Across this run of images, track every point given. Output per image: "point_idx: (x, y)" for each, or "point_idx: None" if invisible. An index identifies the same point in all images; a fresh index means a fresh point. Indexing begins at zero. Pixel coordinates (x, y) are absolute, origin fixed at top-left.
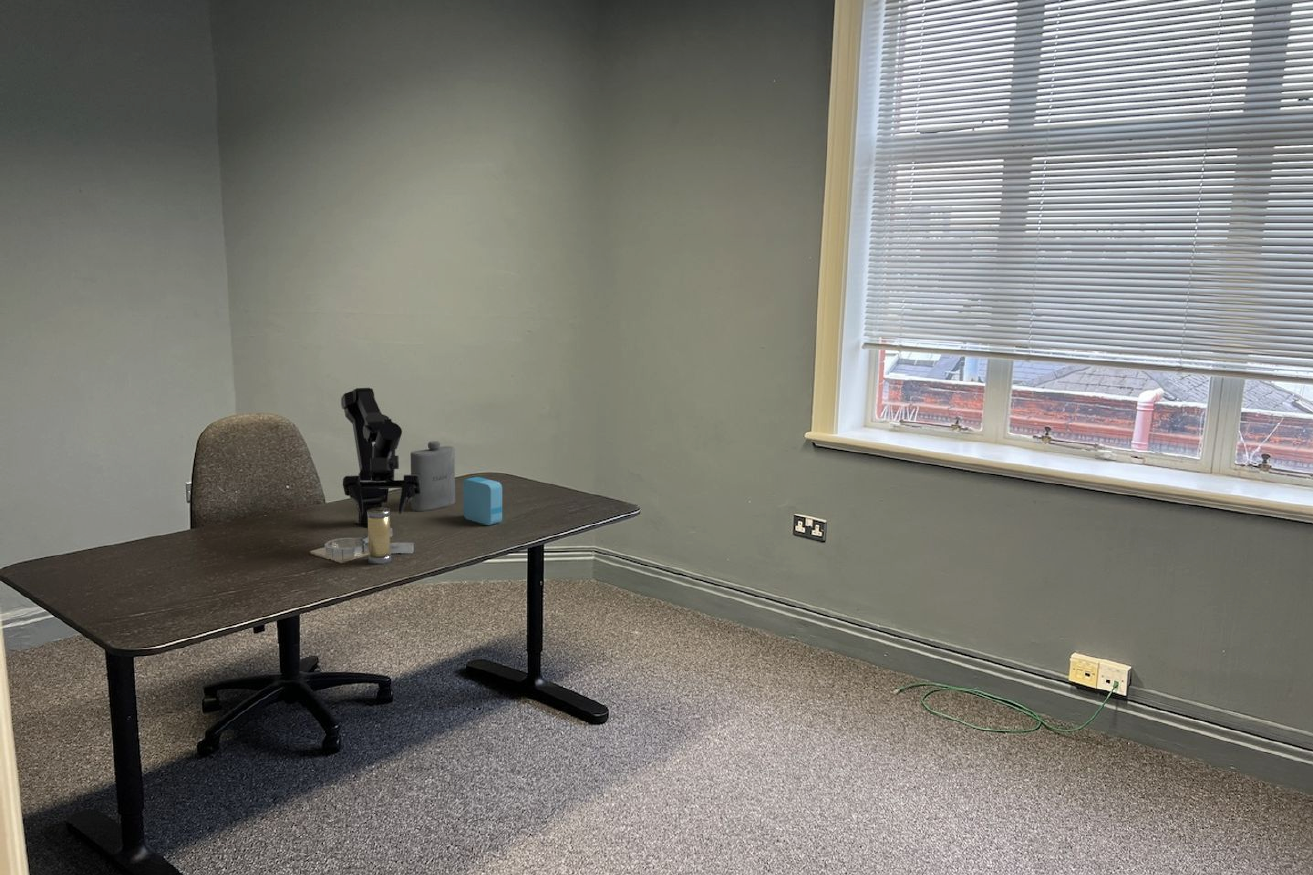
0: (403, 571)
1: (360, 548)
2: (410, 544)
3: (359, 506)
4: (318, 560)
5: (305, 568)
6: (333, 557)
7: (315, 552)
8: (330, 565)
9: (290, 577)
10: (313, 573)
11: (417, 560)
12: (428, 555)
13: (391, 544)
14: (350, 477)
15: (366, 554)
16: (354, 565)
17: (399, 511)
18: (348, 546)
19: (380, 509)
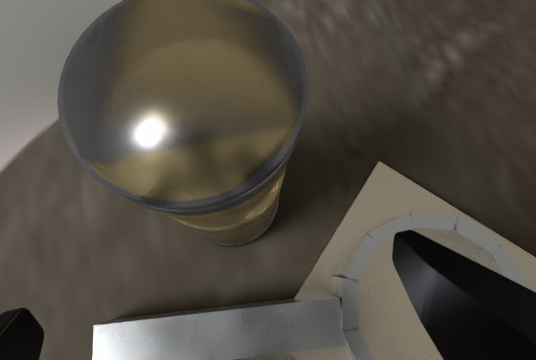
0: None
1: (343, 270)
2: (103, 336)
3: (474, 266)
4: (474, 189)
5: (473, 100)
6: (425, 197)
7: (532, 260)
8: (402, 136)
9: (473, 19)
10: (420, 56)
11: (79, 221)
12: (36, 295)
13: (204, 327)
14: None
15: (311, 270)
16: (314, 142)
17: (14, 313)
18: None
19: (171, 116)
